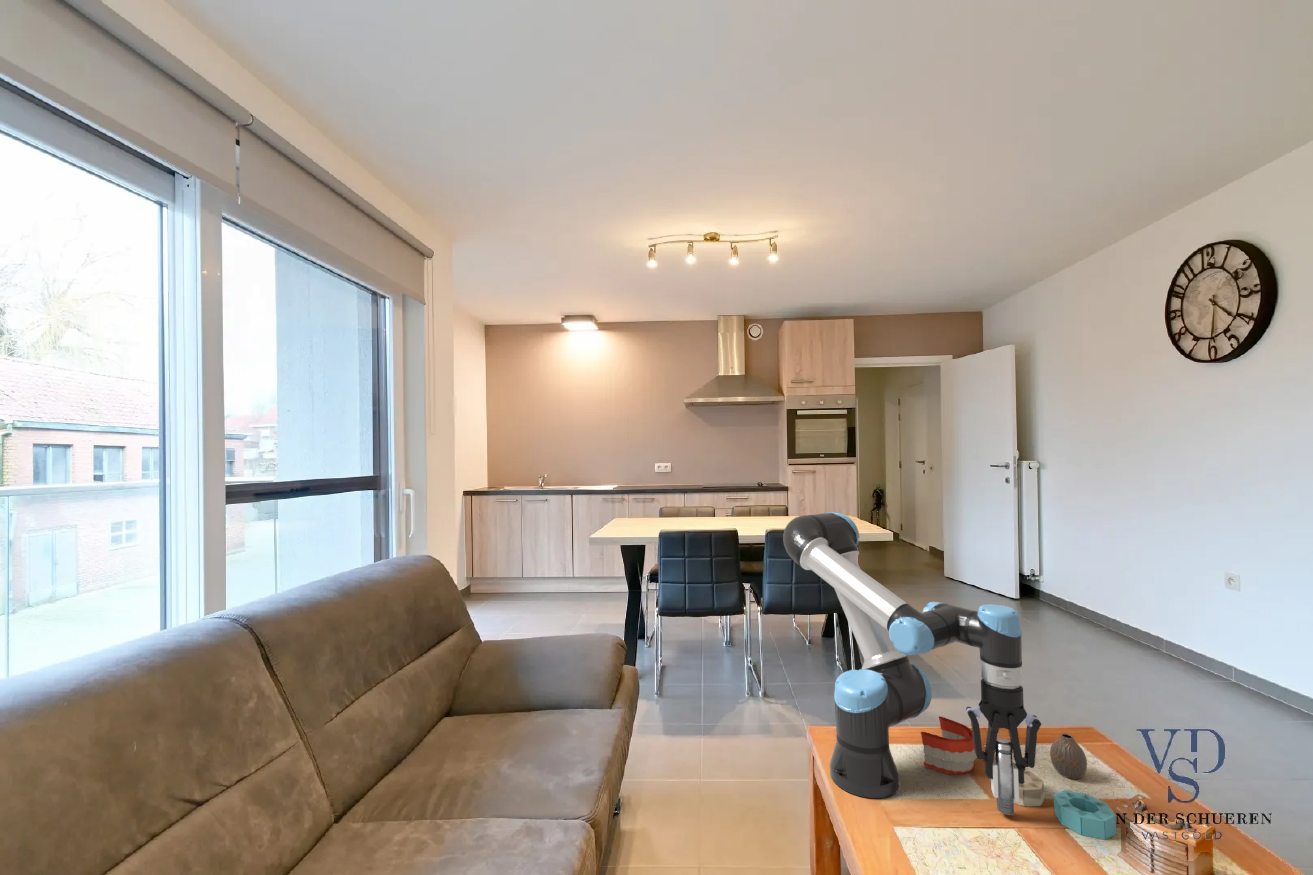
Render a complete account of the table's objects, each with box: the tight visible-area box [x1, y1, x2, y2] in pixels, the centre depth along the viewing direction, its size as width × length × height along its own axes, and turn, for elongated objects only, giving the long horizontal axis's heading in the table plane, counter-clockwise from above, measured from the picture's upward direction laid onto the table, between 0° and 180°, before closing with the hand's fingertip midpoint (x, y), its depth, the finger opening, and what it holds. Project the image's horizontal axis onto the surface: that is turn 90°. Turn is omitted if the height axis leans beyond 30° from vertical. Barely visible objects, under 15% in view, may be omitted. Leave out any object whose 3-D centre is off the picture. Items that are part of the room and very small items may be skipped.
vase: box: [1049, 733, 1088, 780], centre depth 127 cm, size 7×7×9 cm
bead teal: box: [1053, 789, 1117, 841], centre depth 110 cm, size 9×9×4 cm
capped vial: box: [994, 737, 1015, 816], centre depth 113 cm, size 3×3×14 cm
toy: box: [920, 716, 978, 775], centre depth 132 cm, size 12×10×8 cm
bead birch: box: [1014, 768, 1045, 807], centre depth 120 cm, size 9×9×4 cm
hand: (1005, 795), depth 113 cm, fingers closed on capped vial, 3 cm apart
